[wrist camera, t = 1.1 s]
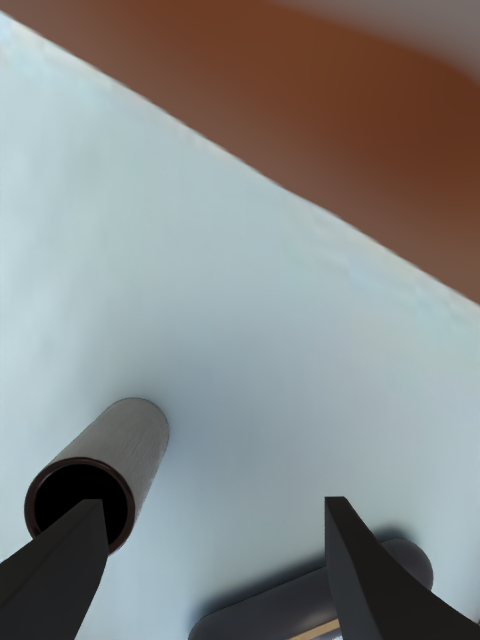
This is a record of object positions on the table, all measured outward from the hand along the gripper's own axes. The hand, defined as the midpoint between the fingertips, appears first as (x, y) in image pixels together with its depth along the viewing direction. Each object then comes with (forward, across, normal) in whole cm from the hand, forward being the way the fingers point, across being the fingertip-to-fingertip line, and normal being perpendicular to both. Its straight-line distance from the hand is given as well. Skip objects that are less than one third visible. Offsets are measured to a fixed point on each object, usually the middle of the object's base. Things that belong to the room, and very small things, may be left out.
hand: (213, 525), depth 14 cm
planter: (+13, +7, +4) cm, 15 cm away
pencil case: (+12, -4, +15) cm, 19 cm away
